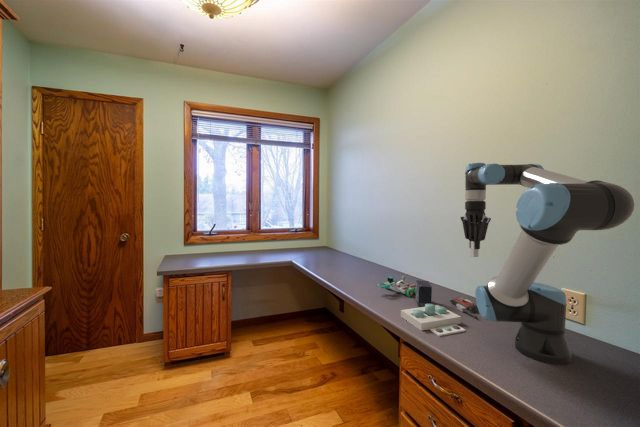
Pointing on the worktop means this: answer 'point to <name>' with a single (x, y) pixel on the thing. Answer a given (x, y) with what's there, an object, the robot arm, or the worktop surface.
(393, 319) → the worktop surface
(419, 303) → the small box
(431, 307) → the button
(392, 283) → the robot kit
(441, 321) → the board
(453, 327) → the pattern card
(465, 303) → the walkie-talkie
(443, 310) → the button
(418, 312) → the button
